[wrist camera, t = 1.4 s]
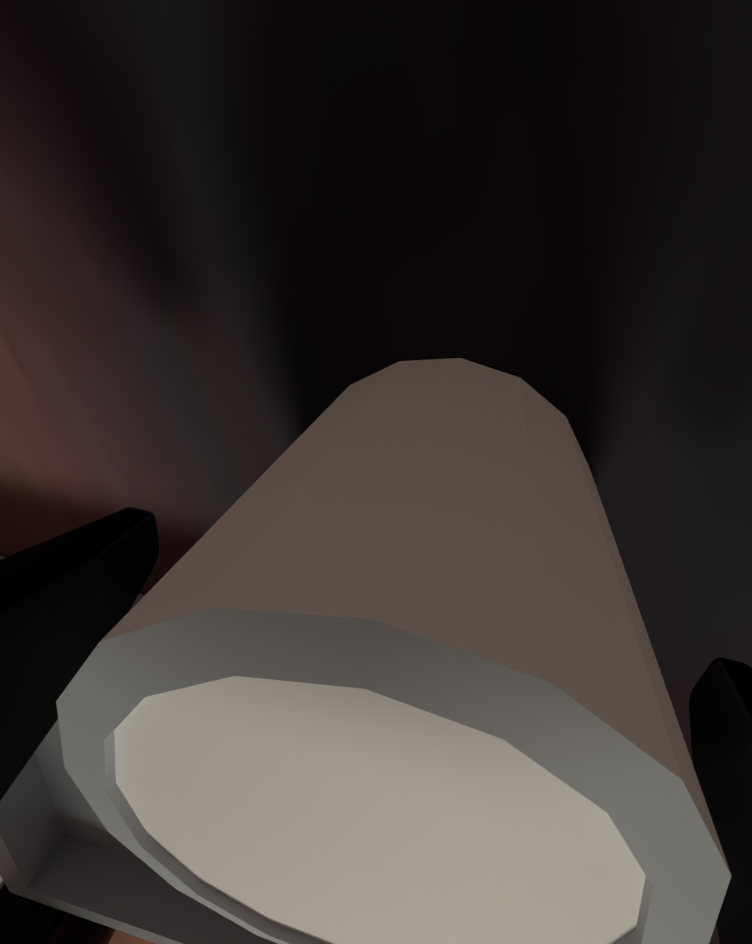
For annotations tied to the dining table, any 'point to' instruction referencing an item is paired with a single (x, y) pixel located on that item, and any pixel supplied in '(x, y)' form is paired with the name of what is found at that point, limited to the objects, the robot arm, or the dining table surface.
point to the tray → (92, 862)
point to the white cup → (405, 694)
